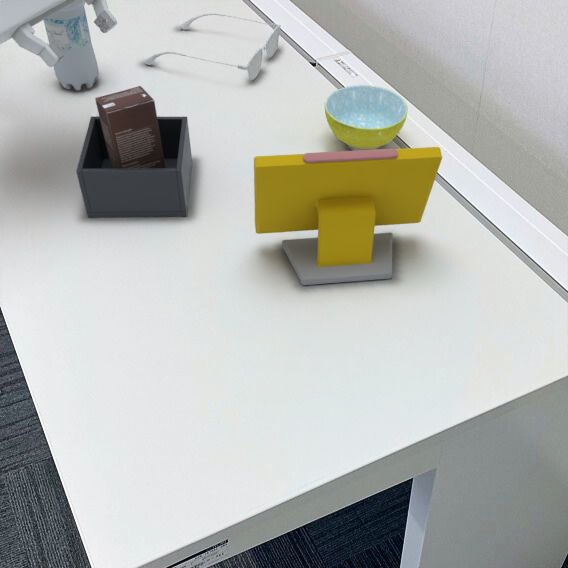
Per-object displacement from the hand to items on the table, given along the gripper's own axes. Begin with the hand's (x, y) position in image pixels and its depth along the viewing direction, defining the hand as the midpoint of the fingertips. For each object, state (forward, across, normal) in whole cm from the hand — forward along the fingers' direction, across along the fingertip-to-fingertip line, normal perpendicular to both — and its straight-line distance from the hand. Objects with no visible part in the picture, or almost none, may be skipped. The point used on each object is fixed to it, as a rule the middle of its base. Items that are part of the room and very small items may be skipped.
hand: (85, 44), depth 88 cm
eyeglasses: (+9, +35, +18) cm, 40 cm away
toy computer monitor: (+37, 0, -11) cm, 38 cm away
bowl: (+31, +24, -5) cm, 39 cm away
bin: (+16, 0, +10) cm, 19 cm away
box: (+16, 0, +9) cm, 18 cm away
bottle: (0, +17, +27) cm, 32 cm away
